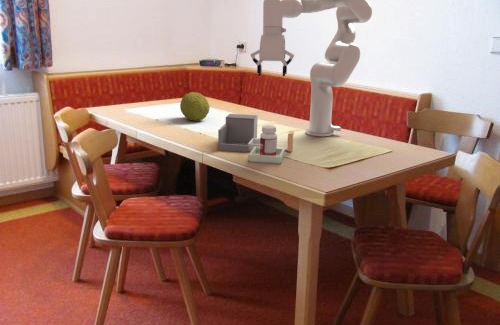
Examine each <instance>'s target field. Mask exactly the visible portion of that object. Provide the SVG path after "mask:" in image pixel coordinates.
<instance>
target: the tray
mask: <svg viewBox="0 0 500 325" xmlns="http://www.w3.org/2000/svg"><path fill="white" fill-rule="evenodd" d="M285 154H286V151H285V149H283V148H277V150H276V156H268V155H260V147H254V148H253V150H250V152H249V154H248V162H250V163H252V162H253V163H261V164H262V163H263V164H275V165H276V164H277V165H281V164H282V162H283V159H284V157H285Z"/></svg>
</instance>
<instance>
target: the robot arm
mask: <svg viewBox="0 0 500 325" xmlns="http://www.w3.org/2000/svg"><path fill="white" fill-rule="evenodd" d="M262 7H263V8H262V10H263V11H262V12H263V13H262V14H263V16H262V17H263V18H262V34H261V35H260V40H259V49H258V50H256V51H254V52H252V53H250V57H251V59H252V61H253V62H254V64H255V65H256V67H257V68H256V71H257V72H256V74H258V76H262V70H263V69H262V68H263V67H262V63H263V62H281V63H282V77H286V75H287V73H288V72H287V71H288V65H289V64H290V63H291V62H292V61H293V59H294V57H295V54H294V53H292V52H291V51H288V50H287V49H286V37H285V34H283V33H287V28H285V27H283V22H284V21H283V20H284V19H285V18H286V19H295V18H297V17H299V16H300V15H302V14H313V13H319V12H323V11H327V10H331V9H336V10H335V11H336V12H335V15H336V20H337V31H336V33H335V35H334V36H333V38H332V40H331V42H330V43H329V45H328V46H327V48H326V50H325V53H324V59H325V60H326V61H321V62H316V63H314V64H313V65H312V66H311V68H310V72H309V78H310V79H309V80H310V87H311V88H310V89H311V90H310V91H311V92H310V110H309V111H310V112H309V125H308V126H309V128H307V129H305V133H306V134H307V135H309V136H313V137H331V136H334V134H335V132H341V129H342V128H341V126H338V125H333V124H332V117H333V116H332V114H333V113H332V112H333V101H334V94H333V93H334V92H333V88H332V87H334V88H339V87H342V86H344V85H345V84H346V83H347V82H348V81H349V79H350V78H351V75H352V73H353V72H354V70H355V68H356V67H357V65H358V64H359V61H360V57H361V50H360V48H359V46H358V45H357V44H355V43H354V41H355V39H356V35H357V34H356V30H355V26H354V24H363V23H367V22H369V20H370V19H371V18H372V14H373V9H372V8H373V7H372V5H371V4H370V3H369V1H368V0H263V4H262ZM283 18H284V19H283ZM258 54H259V55H258ZM256 55H258V57H259V60H258V59H257V58H256ZM286 55H287V56H288V57H289V58H288V60H286ZM334 131H335V132H334Z"/></svg>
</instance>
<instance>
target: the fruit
mask: <svg viewBox="0 0 500 325" xmlns="http://www.w3.org/2000/svg"><path fill="white" fill-rule="evenodd" d="M179 107H180V108H179V109H180V112H181V113H182V115H183V116H184V117H185V118H186V119H188V120H190V121H192V122H193V121H194V122H198V121H202V120H204V119H206V117H207V115H208V114H209V113H210V109H211V108H210V104H209V102H208V99H207V98H206V97H205V96H204V95H203V94H201V92H195V91H191V92H188V93H186V94H184V95H183V96H182V98H181V101H180V104H179Z"/></svg>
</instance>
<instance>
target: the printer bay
mask: <svg viewBox="0 0 500 325" xmlns="http://www.w3.org/2000/svg"><path fill="white" fill-rule="evenodd" d="M217 131H218V132H217V136H218V137H217V142H218V143H217V144H218V145H217V146H218V148H217V149H218V151H229V152H240V153H242V152H244V153H249V150H248V149H249V145H248V143H249V142H250V141H251V139H252V138H258V115H256V114H241V113H229V114H227V115H226V116H225V123H224V125H222V126H221V127H220V128H219V129H218V130H217ZM240 143H244V144H240Z"/></svg>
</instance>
